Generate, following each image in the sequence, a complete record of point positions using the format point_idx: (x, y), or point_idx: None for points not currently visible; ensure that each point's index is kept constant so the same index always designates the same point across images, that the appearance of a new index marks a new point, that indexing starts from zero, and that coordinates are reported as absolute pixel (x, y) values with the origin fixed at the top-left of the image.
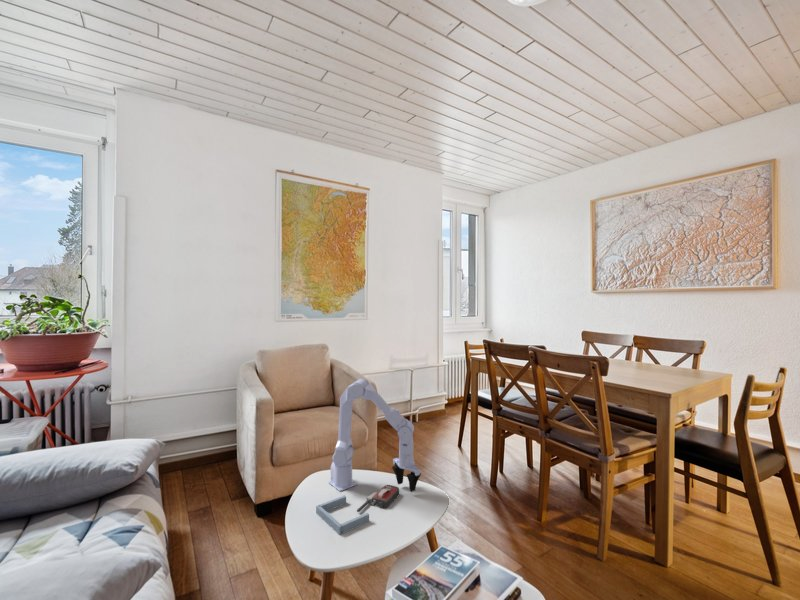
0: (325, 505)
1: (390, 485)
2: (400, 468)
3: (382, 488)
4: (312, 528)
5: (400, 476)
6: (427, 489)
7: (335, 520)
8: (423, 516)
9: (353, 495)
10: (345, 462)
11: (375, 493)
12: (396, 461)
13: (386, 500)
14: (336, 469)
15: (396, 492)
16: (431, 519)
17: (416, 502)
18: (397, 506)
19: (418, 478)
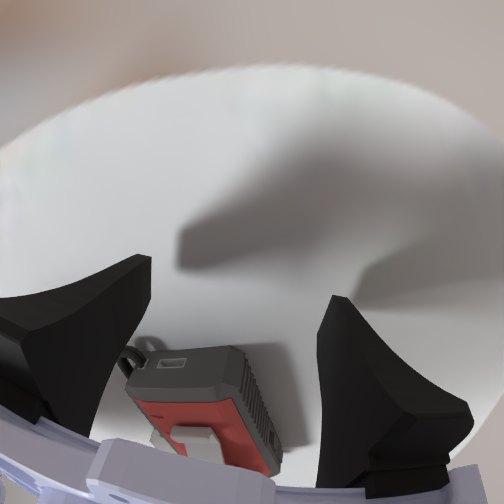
0: None
1: (154, 390)
2: (70, 394)
3: (149, 418)
4: None
5: (116, 321)
6: (399, 135)
7: None
8: (469, 401)
9: (93, 424)
10: (3, 499)
11: (164, 443)
12: (24, 488)
13: (273, 472)
14: None
15: (251, 410)
16: (500, 392)
17: (405, 353)
18: (320, 424)
19: (422, 381)
